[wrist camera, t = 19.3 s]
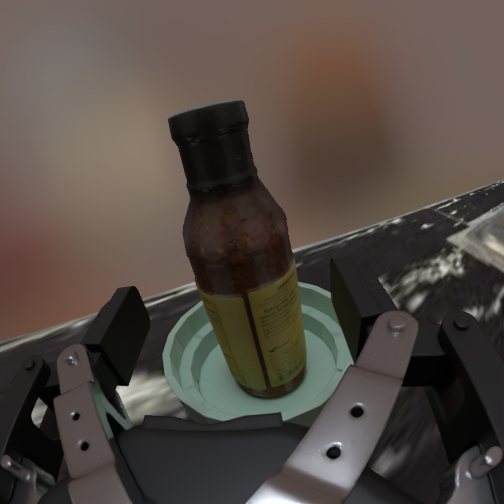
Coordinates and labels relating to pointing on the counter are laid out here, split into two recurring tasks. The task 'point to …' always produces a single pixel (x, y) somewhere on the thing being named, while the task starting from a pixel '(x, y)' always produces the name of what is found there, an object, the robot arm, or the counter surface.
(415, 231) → the counter surface
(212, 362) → the bowl
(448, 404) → the robot arm
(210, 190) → the sauce bottle
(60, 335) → the counter surface
